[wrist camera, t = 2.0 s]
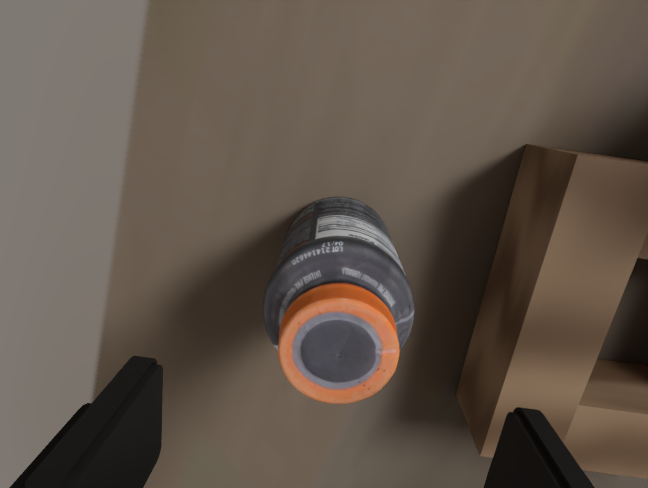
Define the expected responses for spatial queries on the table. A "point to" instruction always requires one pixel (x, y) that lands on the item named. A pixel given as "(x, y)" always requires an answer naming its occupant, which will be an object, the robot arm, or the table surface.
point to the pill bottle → (338, 302)
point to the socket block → (563, 310)
